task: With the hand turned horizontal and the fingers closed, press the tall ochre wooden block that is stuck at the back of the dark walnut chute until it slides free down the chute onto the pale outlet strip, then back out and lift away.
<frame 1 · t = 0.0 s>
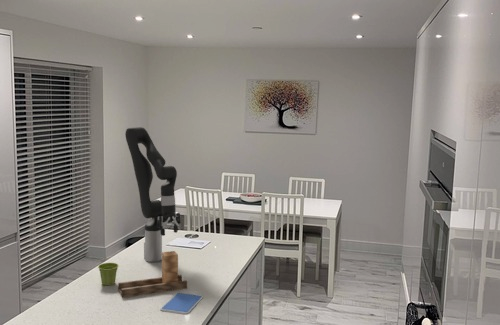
hand: (169, 233, 253), 17 cm above the kitchen island, tool pointing down, fingers open, 8 cm apart
plant pot: (108, 283, 227), on the kitchen island
chute: (153, 289, 221), on the kitchen island
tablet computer: (182, 305, 206), on the kitchen island
jammed block: (169, 268, 224), point 9 cm above the kitchen island, slide at 0.0 cm
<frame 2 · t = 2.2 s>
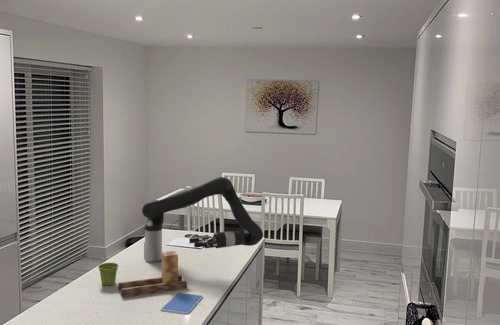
hand: (192, 243, 227), 20 cm above the kitchen island, tool horizontal, fingers open, 7 cm apart
nothing on the kitchen island moved.
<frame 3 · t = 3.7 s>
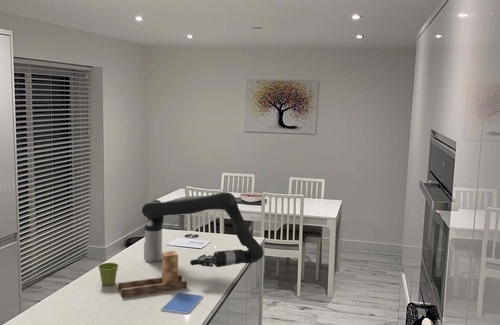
hand: (190, 262, 227), 11 cm above the kitchen island, tool horizontal, fingers closed
nothing on the kitchen island moved.
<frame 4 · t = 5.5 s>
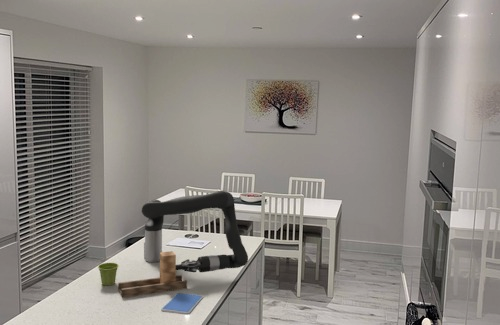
hand: (173, 267, 224), 9 cm above the kitchen island, tool horizontal, fingers closed
jammed block: (167, 269, 223), point 9 cm above the kitchen island, slide at 1.1 cm, touching gripper
everything else where it was.
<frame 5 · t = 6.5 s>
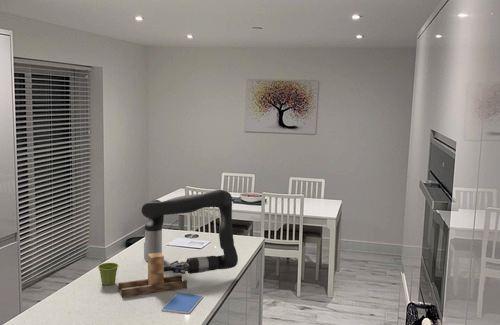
hand: (162, 269, 222), 9 cm above the kitchen island, tool horizontal, fingers closed
jammed block: (155, 270, 221), point 9 cm above the kitchen island, slide at 6.7 cm, touching gripper
everything else where it was.
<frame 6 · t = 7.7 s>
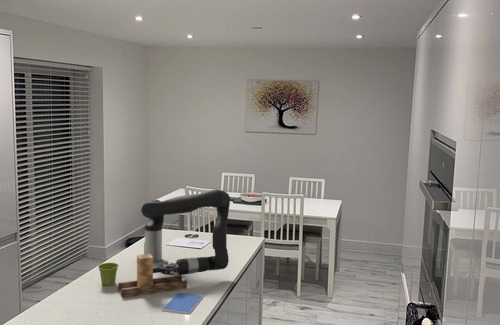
hand: (151, 270, 220), 9 cm above the kitchen island, tool horizontal, fingers closed
jammed block: (144, 272, 219), point 9 cm above the kitchen island, slide at 11.8 cm, touching gripper
everything else where it was.
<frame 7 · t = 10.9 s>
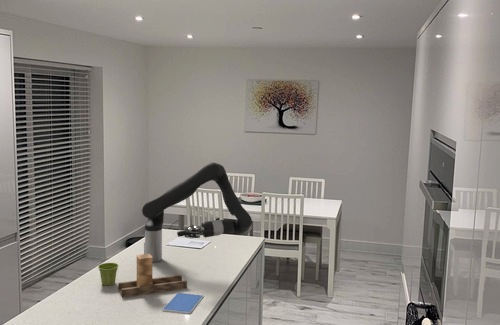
hand: (177, 234, 225), 25 cm above the kitchen island, tool horizontal, fingers closed
jammed block: (144, 272, 219), point 9 cm above the kitchen island, slide at 11.9 cm
everything else where it was.
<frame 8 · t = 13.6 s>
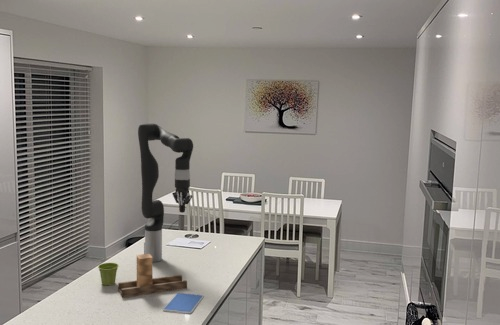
hand: (182, 212, 239), 32 cm above the kitchen island, tool pointing down, fingers closed
nothing on the kitchen island moved.
at the end: jammed block slide at 11.9 cm; plant pot moved 0.2 cm from its start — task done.
